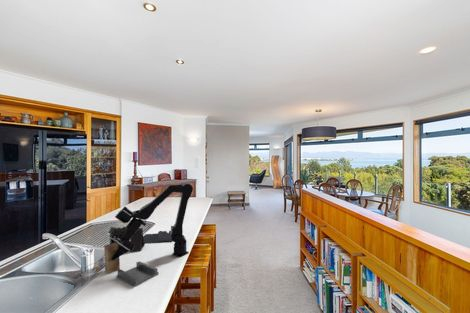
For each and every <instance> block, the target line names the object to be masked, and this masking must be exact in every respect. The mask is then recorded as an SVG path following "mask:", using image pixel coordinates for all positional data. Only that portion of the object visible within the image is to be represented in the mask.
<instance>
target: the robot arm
mask: <svg viewBox="0 0 470 313" xmlns="http://www.w3.org/2000/svg"><path fill="white" fill-rule="evenodd" d="M193 191H194V187H193V185H192V184H190V183H188V182H184V183H182V184H171V183H170V184H168V185H167V186H166V187H165V189H164V190H162V191H161V192H160V193H159V194H158V195H157V196H156V197H155V198H154V199H152V201H150V202H148V203H147V204H145V205H143V206H142V207H141V208H139V209H138V210H133V211H132V210H130V209H129V208H128V207H127V206H124V207H122V208H121V210H119V211H118V212H117V214H116V215H115V216H114V218H115V219H116V220H118V221H120V222H121V223H123V224H127V225H126V226H122V227H116V226H115V227H114V226H111V227H110V228H109V231H108V234H110V235H108V237H109V238H108V239H109V244H112V243H117V244H118V249H117V251H116V252H115V254H114V255H113V257H112V259H111V260H115V259H116V258H118V257H119V258H120V257H121V256H122V255H124V254H126V253H128V252H129V253H130V250H131V251H132V250H133V249H134V244H132V243H131V242H130V240H131V238H132V237H133V235H134V236H135V235H136V234H135V233H136V231H137V230H138V229H139V228H141V226H143V227H146V226H147V220H148V219H149V218H150V217H151V216H152V215H153V213H154V211H155V210H156V209H157V207H159V206H160V205H161V204H162V203H163V202H164V201H165V200H166V199H168V198H169V196H171V194H172V193H179V194H180V200H179V205H178V209H177V214H176V218H175V223H174V225H170V230H169V231H170V232H169V231H168V233H170V236H171V239H172V242H174V243H173V252H172V255H173V256H176V257H179V258H182V257H183V256H185V255H188V254H189V251H187V239H186V237H185V235H184V234H183V232H184V230H183V224H184V220H185V215H186V211H187V207H188V202H189V199H190V197H191V196H192V193H193Z"/></svg>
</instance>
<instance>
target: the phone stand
mask: <svg viewBox="0 0 470 313" xmlns="http://www.w3.org/2000/svg"><path fill="white" fill-rule="evenodd" d="M135 234H136V235H135V236H134V235H133V237H132V238H131V239H130V242H131V243H132V244H134V249H133V250H132V251H131V250H129V253H134V252H142V250H143V249H144V247H145V245H146V244H144V237H143V236H144V229H143V227H140V228H139V229H138V230H137V231H136V233H135Z"/></svg>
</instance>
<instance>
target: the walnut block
mask: <svg viewBox="0 0 470 313" xmlns="http://www.w3.org/2000/svg"><path fill="white" fill-rule="evenodd" d="M117 249H118V244H117V243H112V244H110V243H109V244H105V245H104V249H103V250H104V271H105V272H106V273H107V274H112V273H115V272H117V271H118V270H120V269H121V268H120V267H121V264H120V257H118V258H116V259H115V260H111V259H112V257H113V255H114V254H115V252H116V251H117Z"/></svg>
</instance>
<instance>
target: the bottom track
mask: <svg viewBox="0 0 470 313" xmlns="http://www.w3.org/2000/svg"><path fill="white" fill-rule="evenodd" d="M135 264H136V266H135V267H132V268H129V269H128V270H126V271H125V270H123V269H121V268H120V270H118V271H116V272H117V274H116V279H118V280H119V281H120V280H121V281H122V282H124V283H126V284H128V285H130V286H132V287H137V286H140V285H141V284H143V283H145V282H147V281H148V280H151V279H152V278H155V277H156V276H158V275H159V271H158V268H157V267H155V266H152V265H150V264H147V263H144V262H142V261H137V262H136V263H135Z"/></svg>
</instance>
